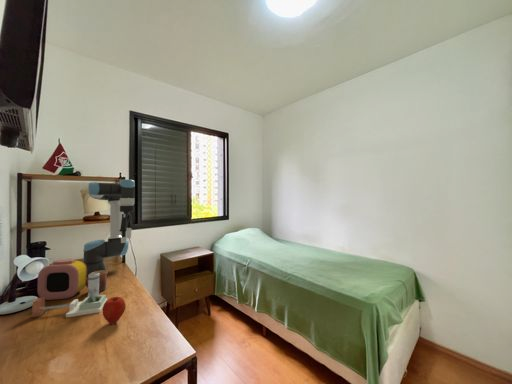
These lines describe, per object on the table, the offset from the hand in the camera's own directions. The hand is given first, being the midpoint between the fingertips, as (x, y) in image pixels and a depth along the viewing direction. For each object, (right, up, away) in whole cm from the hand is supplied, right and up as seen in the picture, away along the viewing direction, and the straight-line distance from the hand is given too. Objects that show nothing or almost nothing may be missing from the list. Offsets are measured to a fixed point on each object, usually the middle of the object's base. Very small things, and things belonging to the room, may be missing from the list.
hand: (126, 240), depth 128 cm
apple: (+16, -28, -35) cm, 48 cm away
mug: (-15, -29, -5) cm, 33 cm away
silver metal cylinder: (-2, -27, -23) cm, 35 cm away
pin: (-16, -27, -28) cm, 42 cm away
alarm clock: (-29, -29, -10) cm, 42 cm away
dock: (-4, -28, -24) cm, 37 cm away
